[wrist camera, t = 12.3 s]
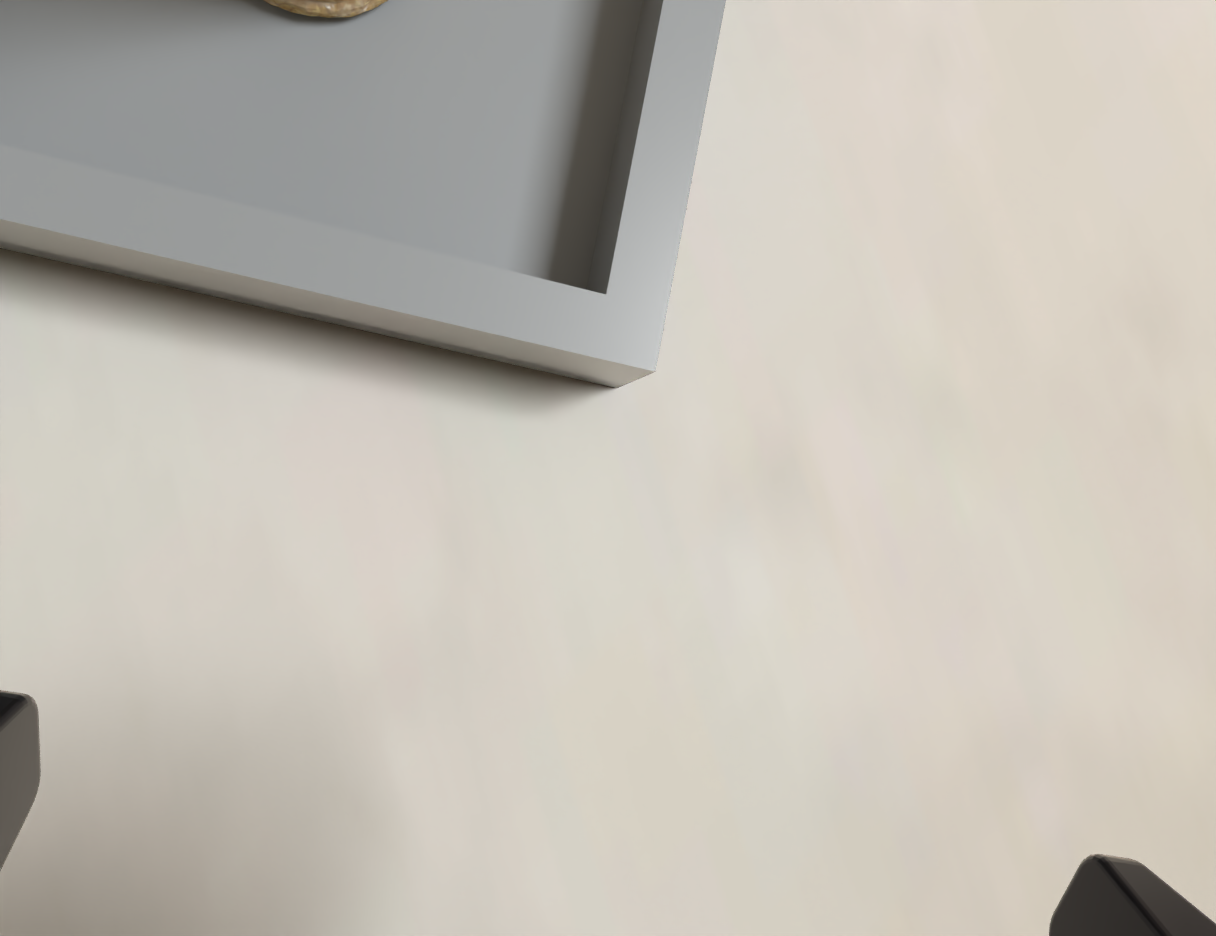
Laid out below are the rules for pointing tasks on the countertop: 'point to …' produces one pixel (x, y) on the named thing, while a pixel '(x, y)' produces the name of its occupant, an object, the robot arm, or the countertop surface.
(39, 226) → the box
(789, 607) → the countertop surface
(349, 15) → the sprinkles bottle
